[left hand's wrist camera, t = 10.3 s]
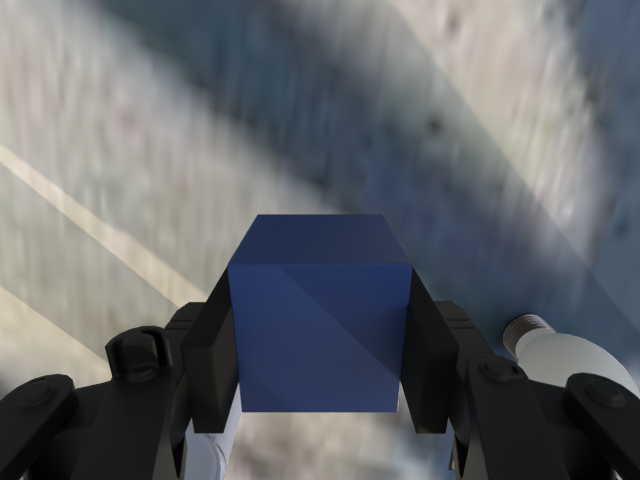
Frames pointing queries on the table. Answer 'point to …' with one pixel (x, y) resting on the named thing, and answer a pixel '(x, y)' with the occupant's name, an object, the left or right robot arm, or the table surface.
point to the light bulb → (559, 354)
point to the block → (319, 313)
